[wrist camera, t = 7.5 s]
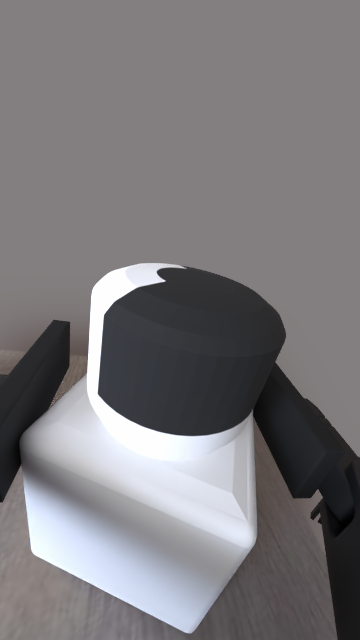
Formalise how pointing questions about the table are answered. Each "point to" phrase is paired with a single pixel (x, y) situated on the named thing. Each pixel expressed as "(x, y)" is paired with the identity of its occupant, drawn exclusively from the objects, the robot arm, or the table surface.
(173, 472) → the container
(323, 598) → the table surface
